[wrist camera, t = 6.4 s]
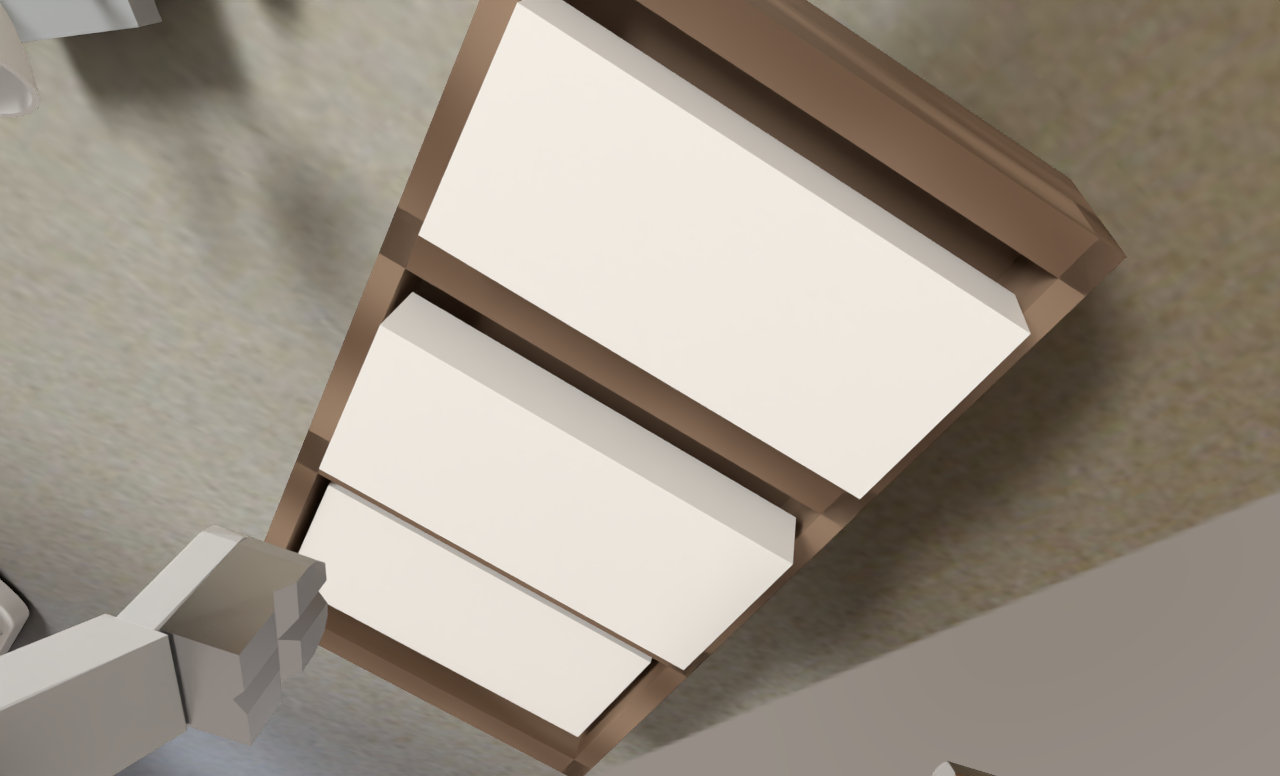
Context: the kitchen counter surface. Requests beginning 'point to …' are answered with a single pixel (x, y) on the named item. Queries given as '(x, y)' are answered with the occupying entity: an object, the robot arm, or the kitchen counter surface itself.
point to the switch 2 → (554, 485)
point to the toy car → (51, 8)
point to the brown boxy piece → (823, 134)
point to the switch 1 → (712, 252)
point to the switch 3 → (466, 614)
